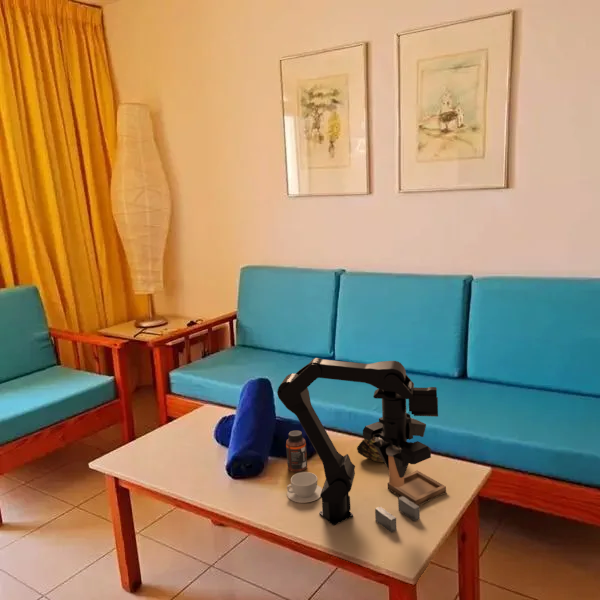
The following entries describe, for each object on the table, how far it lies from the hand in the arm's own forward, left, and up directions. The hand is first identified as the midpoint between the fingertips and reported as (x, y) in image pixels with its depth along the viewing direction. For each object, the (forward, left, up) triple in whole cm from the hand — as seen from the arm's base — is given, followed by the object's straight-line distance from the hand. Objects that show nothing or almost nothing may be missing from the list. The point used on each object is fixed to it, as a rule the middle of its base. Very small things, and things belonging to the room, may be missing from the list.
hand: (396, 473), depth 137 cm
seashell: (+17, +27, -13) cm, 34 cm away
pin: (0, 0, -3) cm, 2 cm away
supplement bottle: (-6, +38, -13) cm, 41 cm away
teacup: (-12, +25, -13) cm, 30 cm away
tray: (+13, +7, -13) cm, 20 cm away
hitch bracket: (0, 0, -13) cm, 13 cm away
